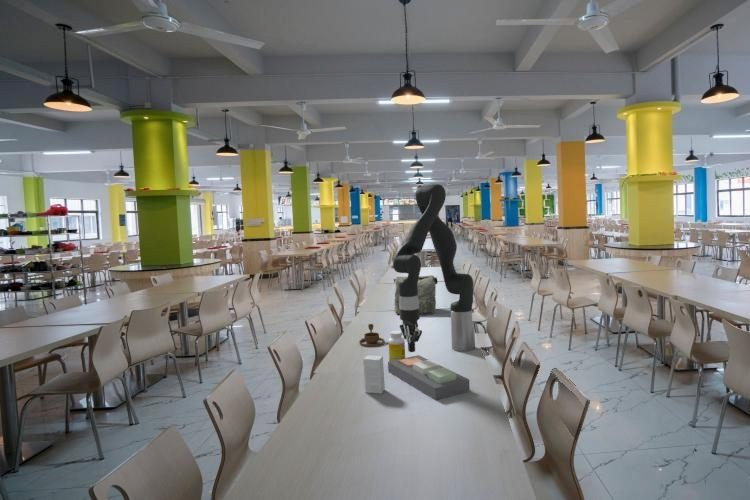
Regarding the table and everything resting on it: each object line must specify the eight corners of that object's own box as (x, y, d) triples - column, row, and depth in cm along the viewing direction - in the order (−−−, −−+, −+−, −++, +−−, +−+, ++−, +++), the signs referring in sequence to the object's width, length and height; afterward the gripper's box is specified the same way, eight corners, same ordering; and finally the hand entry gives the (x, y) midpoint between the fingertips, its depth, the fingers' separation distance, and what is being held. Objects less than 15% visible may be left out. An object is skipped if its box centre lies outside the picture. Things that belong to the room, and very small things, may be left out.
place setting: (349, 346, 220) (348, 333, 219) (369, 335, 237) (368, 323, 237) (382, 349, 212) (382, 337, 211) (400, 338, 229) (400, 326, 229)
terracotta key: (414, 364, 183) (414, 356, 183) (424, 369, 177) (424, 361, 177) (399, 367, 180) (398, 360, 180) (408, 373, 174) (408, 365, 174)
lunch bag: (438, 308, 289) (437, 273, 287) (437, 314, 271) (436, 277, 269) (396, 308, 293) (395, 274, 291) (393, 315, 275) (391, 278, 273)
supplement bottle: (404, 365, 187) (402, 334, 186) (388, 365, 188) (386, 334, 187) (406, 360, 193) (405, 330, 192) (390, 360, 195) (389, 330, 194)
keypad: (419, 364, 187) (418, 355, 187) (469, 390, 159) (469, 379, 159) (388, 371, 181) (387, 361, 181) (435, 400, 153) (434, 388, 152)
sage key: (444, 375, 165) (444, 367, 165) (456, 381, 159) (456, 373, 159) (427, 379, 162) (427, 371, 162) (439, 386, 156) (439, 377, 156)
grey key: (428, 367, 174) (428, 359, 174) (439, 373, 168) (439, 364, 168) (412, 371, 171) (412, 363, 171) (423, 377, 165) (422, 368, 165)
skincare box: (385, 389, 164) (383, 356, 163) (381, 394, 160) (379, 360, 159) (368, 388, 166) (367, 355, 165) (364, 392, 162) (362, 359, 161)
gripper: (427, 308, 172) (429, 354, 174) (408, 302, 184) (411, 345, 186) (410, 311, 169) (412, 358, 171) (392, 305, 181) (394, 349, 182)
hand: (411, 351), depth 178 cm, fingers closed
